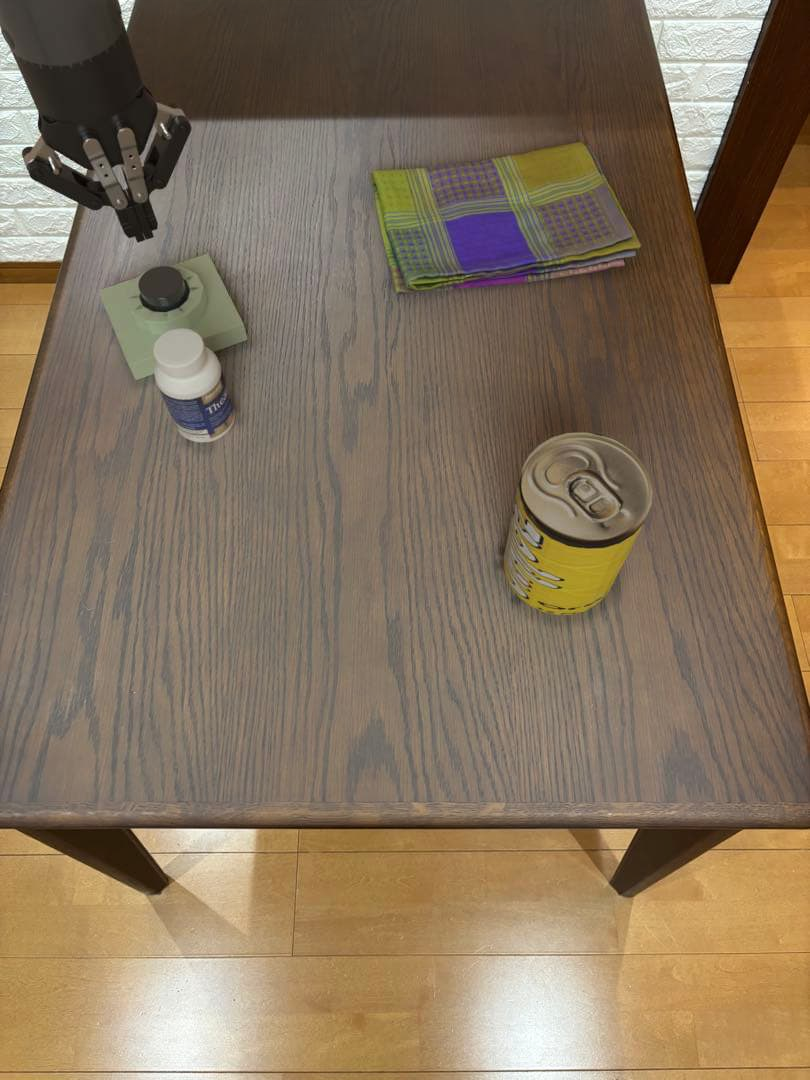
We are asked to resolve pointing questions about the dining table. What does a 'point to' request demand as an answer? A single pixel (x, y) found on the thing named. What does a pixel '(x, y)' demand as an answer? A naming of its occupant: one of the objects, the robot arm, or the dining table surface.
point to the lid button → (163, 288)
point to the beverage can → (574, 521)
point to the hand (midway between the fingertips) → (142, 233)
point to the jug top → (173, 315)
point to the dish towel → (500, 220)
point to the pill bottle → (193, 386)
